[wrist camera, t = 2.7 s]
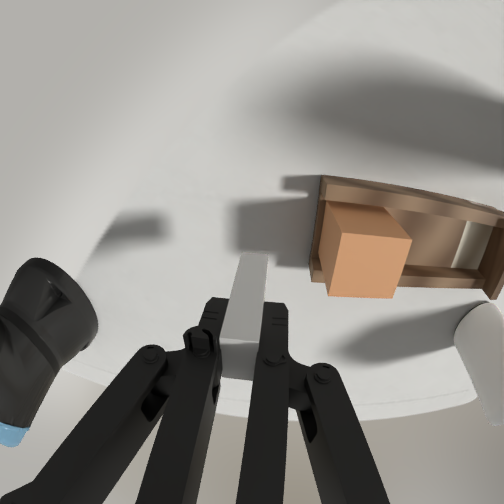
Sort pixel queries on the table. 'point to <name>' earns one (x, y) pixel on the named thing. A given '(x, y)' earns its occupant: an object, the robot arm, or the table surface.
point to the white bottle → (484, 357)
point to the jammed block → (361, 250)
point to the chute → (427, 234)
